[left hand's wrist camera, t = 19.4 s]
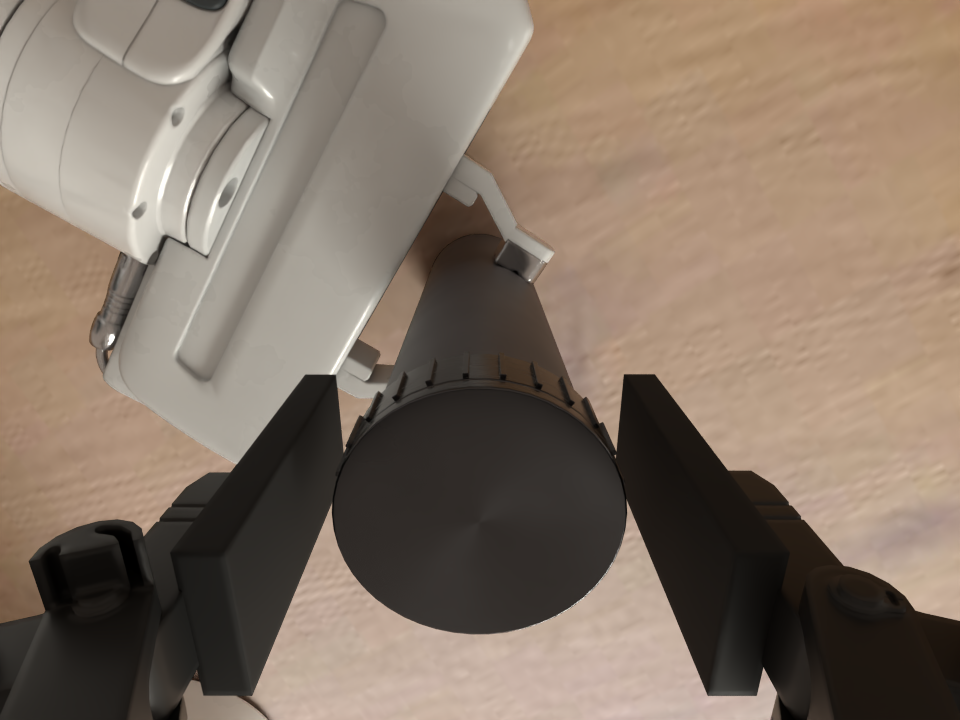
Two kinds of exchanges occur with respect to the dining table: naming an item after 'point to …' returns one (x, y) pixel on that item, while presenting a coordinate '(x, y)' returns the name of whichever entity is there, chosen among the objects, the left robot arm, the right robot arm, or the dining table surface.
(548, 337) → the dark grey cylinder
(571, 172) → the dining table surface
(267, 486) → the left robot arm
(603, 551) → the lid
